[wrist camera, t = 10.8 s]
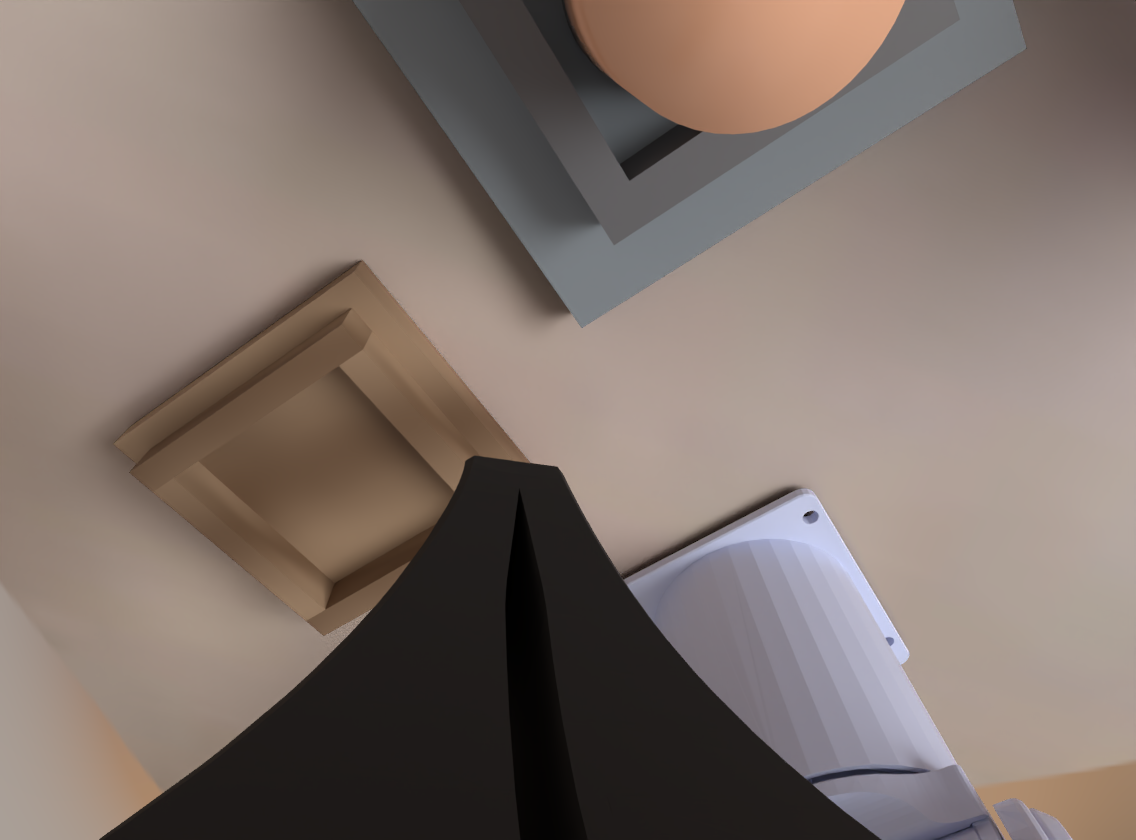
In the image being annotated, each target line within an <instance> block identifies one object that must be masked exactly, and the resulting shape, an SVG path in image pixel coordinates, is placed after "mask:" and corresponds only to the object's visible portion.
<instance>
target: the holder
mask: <svg viewBox="0 0 1136 840" xmlns="http://www.w3.org/2000/svg"><path fill="white" fill-rule="evenodd" d="M114 445H115V446H116V447H117V448H118V449H120V450H121V451H122V452H123V453H124V454H125V455H127V456H128V457H129V458H130V459H131V460H132V461H134V462H135V463H136V465H135V467H134V468H133V469H132V470H131V471H130V472H129V473H131V474H132V475H133V476H134V477H135V478H137V479H138V480H139V481H140V482H141V483H142V484H144V485H145V486H146V487H147V488H148V489H150V490H151V491H152V492H153V493H154V494H156V495H157V496H158V497H159V498H160V499H162V500H163V501H164V502H165V503H166V504H167V505H169V506H170V507H171V508H172V509H173V510H175V511H176V512H177V513H178V514H179V515H181V516H182V517H183V518H184V519H185V520H187V521H188V522H189V523H190V524H191V525H192V526H194V527H195V528H196V529H197V530H198V531H200V532H201V533H202V534H203V535H204V536H206V537H207V538H208V539H209V540H210V541H211V542H213V543H214V544H215V545H216V546H217V547H219V548H220V549H221V550H222V551H223V552H225V553H226V554H227V555H228V556H229V557H231V558H232V559H233V560H234V561H235V562H236V563H238V564H239V565H240V566H241V567H242V568H244V569H245V570H246V571H247V572H248V573H250V574H251V575H252V576H253V577H254V578H256V579H257V580H258V581H259V582H260V583H261V584H263V585H264V586H265V587H266V588H267V589H269V590H270V591H271V592H272V593H273V594H275V595H276V596H277V597H278V598H279V599H281V600H282V601H283V602H284V603H285V604H286V605H288V606H289V607H290V608H291V609H292V610H294V611H295V612H296V613H297V614H298V615H300V616H301V617H302V618H303V619H304V620H305V621H307V622H308V623H309V624H310V625H311V626H313V627H314V628H315V629H316V630H317V631H319V632H320V633H321V634H322V635H323V636H324V635H326V634H328V633H330V632H332V631H333V630H335V629H337V628H339V627H340V626H342V625H344V624H346V623H347V622H349V621H351V620H353V619H355V618H356V617H358V616H360V615H362V614H363V613H365V612H367V611H369V610H371V609H372V608H374V607H375V606H376V604H377V603H378V602H379V601H380V600H381V599H382V597H383V596H384V595H385V594H386V593H387V591H388V590H389V589H390V588H391V586H392V585H393V584H394V583H395V581H396V580H397V579H398V577H399V576H400V575H401V573H402V572H403V571H404V569H405V568H406V567H407V565H408V564H409V563H410V561H411V560H412V559H413V557H414V556H415V555H416V553H417V552H418V551H419V549H420V548H421V547H422V545H423V544H424V542H425V541H426V539H427V538H428V536H429V534H430V533H431V531H432V530H433V528H434V526H435V525H436V523H437V522H438V520H439V518H440V517H441V515H442V514H443V512H444V510H445V509H446V507H447V505H448V503H449V501H450V499H451V497H452V496H453V494H454V492H455V490H456V487H457V485H458V483H459V481H460V478H461V475H462V473H463V470H464V465H465V461H466V460H467V459H469V458H471V457H472V456H474V455H476V456H483V457H490V458H497V459H504V460H512V461H519V462H526V463H530V462H529V461H528V459H527V458H526V457H525V456H524V455H523V453H522V452H521V451H520V450H519V449H518V447H517V446H516V445H515V444H514V443H513V441H512V440H511V439H510V438H509V437H508V435H507V434H506V433H505V432H504V430H503V429H502V428H501V427H500V426H499V424H498V423H497V422H496V421H495V420H494V418H493V417H492V416H491V415H490V414H489V412H488V411H487V410H486V409H485V408H484V406H483V405H482V404H481V403H480V402H479V400H478V399H477V398H476V397H475V395H474V394H473V393H472V392H471V391H470V389H469V388H468V387H467V386H466V385H465V383H464V382H463V381H462V380H461V379H460V377H459V376H458V375H457V374H456V373H455V371H454V370H453V369H452V368H451V366H450V365H449V364H448V363H447V362H446V360H445V359H444V358H443V357H442V356H441V354H440V353H439V352H438V351H437V350H436V348H435V347H434V346H433V345H432V344H431V342H430V341H429V340H428V339H427V337H426V336H425V335H424V334H423V333H422V331H421V330H420V329H419V328H418V327H417V325H416V324H415V323H414V322H413V321H412V319H411V318H410V317H409V316H408V315H407V313H406V312H405V311H404V310H403V309H402V307H401V306H400V305H399V304H398V302H397V301H396V300H395V299H394V298H393V296H392V295H391V294H390V293H389V292H388V290H387V289H386V288H385V287H384V286H383V284H382V283H381V282H380V281H379V280H378V278H377V277H376V276H375V275H374V273H373V272H372V271H371V270H370V269H369V267H368V266H367V265H366V264H365V263H364V261H363V260H362V261H360V262H359V263H357V264H356V265H355V266H353V267H352V268H351V269H349V270H348V271H346V272H345V273H344V274H342V275H341V276H339V277H338V278H337V279H335V280H334V281H332V282H331V283H330V284H328V285H327V286H325V287H324V288H323V289H321V290H320V291H318V292H317V293H316V294H314V295H313V296H312V297H310V298H309V299H307V300H306V301H305V302H303V303H302V304H300V305H299V306H298V307H296V308H295V309H293V310H292V311H291V312H289V313H288V314H286V315H285V316H284V317H282V318H281V319H279V320H278V321H277V322H275V323H274V324H273V325H271V326H270V327H268V328H267V329H266V330H264V331H263V332H261V333H260V334H259V335H257V336H256V337H254V338H253V339H252V340H250V341H249V342H247V343H246V344H245V345H243V346H242V347H240V348H239V349H238V350H236V351H235V352H234V353H232V354H231V355H229V356H228V357H227V358H225V359H224V360H222V361H221V362H220V363H218V364H217V365H215V366H214V367H213V368H211V369H210V370H208V371H207V372H206V373H204V374H203V375H201V376H200V377H199V378H197V379H196V380H195V381H193V382H192V383H190V384H189V385H188V386H186V387H185V388H183V389H182V390H181V391H179V392H178V393H176V394H175V395H174V396H172V397H171V398H169V399H168V400H167V401H165V402H164V403H162V404H161V405H160V406H158V407H157V408H155V409H154V410H153V411H151V412H150V413H149V414H147V415H146V416H144V417H143V418H142V419H140V420H139V421H137V422H136V423H135V424H133V425H132V426H130V427H129V428H128V429H127V430H126V431H125V432H124V434H123V435H122V436H121V437H120V438H119V439H118V440H117V441H116V442H115V443H114Z"/></svg>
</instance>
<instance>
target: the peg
mask: <svg viewBox="0 0 1136 840" xmlns="http://www.w3.org/2000/svg"><path fill="white" fill-rule="evenodd" d="M904 2H905V0H562V5H563V10H564V14H565V17H566V20H567V23H568V26H569V28H570V30H571V33H572V35H573V37H574V39H575V41H576V42H577V44H578V46H579V47H580V49H581V50H582V52H583V53H584V54H585V55H586V57H587V58H588V59H589V60H590V62H591V63H593V64H594V65H595V66H596V67H597V68H598V69H599V70H600V71H601V72H603V73H604V74H605V75H607V76H608V77H609V78H611V79H612V80H613V81H615V82H616V83H617V84H619V85H620V86H621V87H623V88H624V89H625V90H627V91H628V92H629V93H631V94H632V95H633V96H635V97H636V98H637V99H638V100H640V101H641V102H643V103H644V104H645V105H647V106H648V107H649V108H651V109H652V110H654V111H655V112H656V113H658V114H659V115H661V116H663V117H665V118H667V119H669V120H671V121H673V122H675V123H677V124H680V125H683V126H686V127H688V128H691V129H694V130H699V131H704V132H709V133H714V134H744V133H754V132H759V131H763V130H767V129H771V128H775V127H778V126H781V125H783V124H786V123H789V122H791V121H794V120H796V119H798V118H800V117H802V116H804V115H805V114H807V113H809V112H811V111H813V110H815V109H816V108H818V107H819V106H821V105H822V104H823V103H825V102H826V101H828V100H829V99H831V98H832V97H833V96H835V95H836V94H837V93H838V92H839V91H840V90H841V89H843V88H844V87H845V86H846V85H847V84H848V83H850V82H851V81H852V79H853V78H854V77H855V76H856V75H857V74H858V73H859V72H860V71H861V70H862V69H863V68H864V67H865V65H866V64H867V63H868V62H869V60H870V59H871V58H872V56H873V55H874V54H875V52H876V51H877V50H878V48H879V47H880V46H881V44H882V43H883V41H884V40H885V38H886V36H887V35H888V33H889V31H890V30H891V28H892V26H893V25H894V23H895V21H896V19H897V17H898V15H899V12H900V10H901V8H902V6H903V4H904Z"/></svg>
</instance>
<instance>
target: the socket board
mask: <svg viewBox="0 0 1136 840" xmlns="http://www.w3.org/2000/svg"><path fill="white" fill-rule="evenodd" d="M352 1H353V2H354V3H355V5H356V6H357V8H358V9H359V11H360V12H361V13H362V15H363V16H364V18H365V19H366V21H367V22H368V23H369V25H370V26H371V28H372V29H373V31H374V32H375V33H376V35H377V36H378V38H379V39H380V41H381V42H382V43H383V45H384V46H385V48H386V49H387V51H388V52H389V53H390V55H391V56H392V58H393V59H394V61H395V62H396V63H397V65H398V66H399V68H400V69H401V71H402V72H403V73H404V75H405V76H406V78H407V79H408V81H409V82H410V83H411V85H412V86H413V88H414V89H415V91H416V92H417V93H418V95H419V96H420V98H421V99H422V101H423V102H424V103H425V105H426V106H427V108H428V109H429V111H430V112H431V113H432V115H433V116H434V118H435V119H436V121H437V122H438V123H439V125H440V126H441V128H442V129H443V131H444V132H445V133H446V135H447V136H448V138H449V139H450V141H451V142H452V143H453V145H454V146H455V148H456V149H457V151H458V152H459V153H460V155H461V156H462V158H463V159H464V161H465V162H466V163H467V165H468V166H469V168H470V169H471V171H472V172H473V173H474V175H475V176H476V178H477V179H478V181H479V182H480V183H481V185H482V186H483V188H484V189H485V191H486V192H487V193H488V195H489V196H490V198H491V199H492V201H493V202H494V203H495V205H496V206H497V208H498V209H499V211H500V212H501V213H502V215H503V216H504V218H505V219H506V221H507V222H508V223H509V225H510V226H511V228H512V229H513V231H514V232H515V233H516V235H517V236H518V238H519V239H520V241H521V242H522V243H523V245H524V246H525V248H526V249H527V251H528V252H529V253H530V255H531V256H532V258H533V259H534V261H535V262H536V263H537V265H538V266H539V268H540V269H541V271H542V272H543V273H544V275H545V276H546V278H547V279H548V281H549V282H550V283H551V285H552V286H553V288H554V289H555V291H556V292H557V293H558V295H559V296H560V298H561V299H562V301H563V302H564V303H565V305H566V306H567V308H568V309H569V311H570V312H571V313H572V315H573V316H574V318H575V319H576V321H577V322H578V323H579V325H580V326H581V328H583V327H584V326H586V325H587V324H589V323H591V322H592V321H594V320H595V319H597V318H599V317H600V316H602V315H603V314H605V313H606V312H608V311H610V310H611V309H613V308H614V307H616V306H618V305H619V304H621V303H622V302H624V301H626V300H627V299H629V298H630V297H632V296H634V295H635V294H637V293H638V292H640V291H641V290H643V289H645V288H646V287H648V286H649V285H651V284H653V283H654V282H656V281H657V280H659V279H661V278H662V277H664V276H665V275H667V274H669V273H670V272H672V271H673V270H675V269H677V268H678V267H680V266H681V265H683V264H684V263H686V262H688V261H689V260H691V259H692V258H694V257H696V256H697V255H699V254H700V253H702V252H704V251H705V250H707V249H708V248H710V247H712V246H713V245H715V244H716V243H718V242H719V241H721V240H723V239H724V238H726V237H727V236H729V235H731V234H732V233H734V232H735V231H737V230H739V229H740V228H742V227H743V226H745V225H747V224H748V223H750V222H751V221H753V220H755V219H756V218H758V217H759V216H761V215H762V214H764V213H766V212H767V211H769V210H770V209H772V208H774V207H775V206H777V205H778V204H780V203H782V202H783V201H785V200H786V199H788V198H790V197H791V196H793V195H794V194H796V193H797V192H799V191H801V190H802V189H804V188H805V187H807V186H809V185H810V184H812V183H813V182H815V181H817V180H818V179H820V178H821V177H823V176H825V175H826V174H828V173H829V172H831V171H833V170H834V169H836V168H837V167H839V166H840V165H842V164H844V163H845V162H847V161H848V160H850V159H852V158H853V157H855V156H856V155H858V154H860V153H861V152H863V151H864V150H866V149H868V148H869V147H871V146H872V145H874V144H875V143H877V142H879V141H880V140H882V139H883V138H885V137H887V136H888V135H890V134H891V133H893V132H895V131H896V130H898V129H899V128H901V127H903V126H904V125H906V124H907V123H909V122H911V121H912V120H914V119H915V118H917V117H918V116H920V115H922V114H923V113H925V112H926V111H928V110H930V109H931V108H933V107H934V106H936V105H938V104H939V103H941V102H942V101H944V100H946V99H947V98H949V97H950V96H952V95H953V94H955V93H957V92H958V91H960V90H961V89H963V88H965V87H966V86H968V85H969V84H971V83H973V82H974V81H976V80H977V79H979V78H981V77H982V76H984V75H985V74H987V73H988V72H990V71H992V70H993V69H995V68H996V67H998V66H1000V65H1001V64H1003V63H1004V62H1006V61H1008V60H1009V59H1011V58H1012V57H1014V56H1016V55H1017V54H1019V53H1020V52H1022V51H1024V50H1025V49H1027V48H1026V45H1025V41H1024V38H1023V34H1022V31H1021V27H1020V24H1019V20H1018V17H1017V13H1016V10H1015V6H1014V3H1013V0H905V2H904V4H903V6H902V8H901V10H900V12H899V15H898V17H897V19H896V21H895V23H894V25H893V26H892V28H891V30H890V31H889V33H888V35H887V36H886V38H885V40H884V41H883V43H882V44H881V46H880V47H879V48H878V50H877V51H876V52H875V54H874V55H873V56H872V58H871V59H870V60H869V62H868V63H867V64H866V65H865V67H864V68H863V69H862V70H861V71H860V72H859V73H858V74H857V75H856V76H855V77H854V78H853V79H852V81H851V82H850V83H848V84H847V85H846V86H845V87H844V88H843V89H841V90H840V91H839V92H838V93H837V94H836V95H835V96H833V97H832V98H831V99H829V100H828V101H826V102H825V103H823V104H822V105H821V106H819V107H818V108H816V109H815V110H813V111H811V112H809V113H807V114H805V115H804V116H802V117H800V118H798V119H796V120H794V121H791V122H789V123H786V124H783V125H781V126H778V127H775V128H771V129H767V130H763V131H759V132H754V133H744V134H714V133H709V132H704V131H699V130H694V129H691V128H688V127H686V126H683V125H680V124H677V123H675V122H673V121H671V120H669V119H667V118H665V117H663V116H661V115H659V114H658V113H656V112H655V111H654V110H652V109H651V108H649V107H648V106H647V105H645V104H644V103H643V102H641V101H640V100H638V99H637V98H636V97H635V96H633V95H632V94H631V93H629V92H628V91H627V90H625V89H624V88H623V87H621V86H620V85H619V84H617V83H616V82H615V81H613V80H612V79H611V78H609V77H608V76H607V75H605V74H604V73H603V72H601V71H600V70H599V69H598V68H597V67H596V66H595V65H594V64H593V63H591V62H590V60H589V59H588V58H587V57H586V55H585V54H584V53H583V52H582V50H581V49H580V47H579V46H578V44H577V42H576V41H575V39H574V37H573V35H572V33H571V30H570V28H569V26H568V23H567V20H566V17H565V14H564V10H563V5H562V0H352Z"/></svg>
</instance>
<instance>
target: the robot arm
mask: <svg viewBox="0 0 1136 840" xmlns="http://www.w3.org/2000/svg"><path fill="white" fill-rule="evenodd" d="M809 511H814V512H813V513H812V514H811V515H810V516H806V517H805V516H804V514H805V513H807V512H809ZM908 657H909V651H908V649H907V648H906V646H905V644H904V643H903V641H902V639H901V638H900V636H899V634H898V633H897V631H896V629H895V627H894V626H893V624H892V622H891V621H890V619H889V617H888V616H887V614H886V612H885V611H884V609H883V607H882V606H881V604H880V602H879V601H878V599H877V597H876V595H875V594H874V592H873V590H872V589H871V587H870V585H869V584H868V582H867V580H866V579H865V577H864V575H863V574H862V572H861V570H860V569H859V567H858V565H857V564H856V562H855V560H854V558H853V557H852V555H851V553H850V552H849V550H848V548H847V547H846V545H845V543H844V542H843V540H842V538H841V537H840V535H839V533H838V532H837V530H836V528H835V526H834V525H833V523H832V521H831V520H830V518H829V516H828V515H827V513H826V511H825V510H824V508H823V506H822V505H821V503H820V501H819V500H818V498H817V496H816V495H815V493H814V492H813V491H812V490H809V489H807V488H805V489H798V490H795V491H793V492H791V493H789V494H787V495H785V496H783V497H781V498H779V499H778V500H776V501H774V502H772V503H770V504H768V505H766V506H764V507H762V508H760V509H758V510H756V511H754V512H752V513H751V514H749V515H747V516H745V517H743V518H741V519H739V520H737V521H735V522H733V523H731V524H729V525H727V526H726V527H724V528H722V529H720V530H718V531H716V532H714V533H712V534H710V535H708V536H706V537H704V538H702V539H701V540H699V541H697V542H695V543H693V544H691V545H689V546H687V547H685V548H683V549H681V550H679V551H677V552H676V553H674V554H672V555H670V556H668V557H666V558H664V559H662V560H660V561H658V562H656V563H654V564H652V565H651V566H649V567H647V568H645V569H643V570H641V571H639V572H637V573H635V574H633V575H631V576H629V577H627V578H625V579H624V580H623V578H622V577H621V575H620V574H619V572H618V571H617V569H616V568H615V566H614V565H613V563H612V561H611V560H610V558H609V557H608V555H607V553H606V552H605V550H604V549H603V547H602V545H601V544H600V542H599V540H598V539H597V537H596V535H595V534H594V532H593V530H592V528H591V527H590V525H589V523H588V521H587V520H586V518H585V516H584V514H583V512H582V511H581V509H580V507H579V505H578V503H577V501H576V499H575V497H574V495H573V493H572V491H571V489H570V487H569V485H568V483H567V481H566V479H565V477H564V475H563V474H562V472H561V471H560V470H559V468H558V467H555V466H548V465H540V464H533V463H526V462H519V461H512V460H504V459H497V458H490V457H483V456H476V455H474V456H472V457H471V458H469V459H467V460H466V461H465V465H464V470H463V473H462V475H461V478H460V481H459V483H458V485H457V487H456V490H455V492H454V494H453V496H452V497H451V499H450V501H449V503H448V505H447V507H446V509H445V510H444V512H443V514H442V515H441V517H440V518H439V520H438V522H437V523H436V525H435V526H434V528H433V530H432V531H431V533H430V534H429V536H428V538H427V539H426V541H425V542H424V544H423V545H422V547H421V548H420V549H419V551H418V552H417V553H416V555H415V556H414V557H413V559H412V560H411V561H410V563H409V564H408V565H407V567H406V568H405V569H404V571H403V572H402V573H401V575H400V576H399V577H398V579H397V580H396V581H395V583H394V584H393V585H392V586H391V588H390V589H389V590H388V591H387V593H386V594H385V595H384V596H383V597H382V599H381V600H380V601H379V602H378V603H377V604H376V606H375V607H374V608H373V609H372V610H371V611H370V612H369V614H368V615H367V616H366V617H365V618H364V619H363V620H362V621H361V622H360V623H359V625H358V626H357V627H356V628H355V629H354V630H353V631H352V632H351V633H350V634H349V635H348V636H347V637H346V638H345V639H344V640H343V641H342V642H341V643H340V644H339V645H338V646H337V647H336V648H335V649H334V650H333V651H332V652H331V653H330V654H329V655H328V656H327V657H326V658H325V659H324V660H323V661H322V662H321V663H320V664H319V665H318V666H317V667H316V668H315V669H314V670H313V671H312V672H311V673H310V674H309V675H308V676H307V677H306V678H305V679H304V680H303V681H301V682H300V683H299V684H298V685H297V686H296V687H295V688H294V689H293V690H292V691H290V692H289V693H288V694H287V695H286V696H285V697H284V698H282V699H281V700H280V701H279V702H278V703H276V704H275V705H274V706H273V707H272V708H271V709H269V710H268V711H267V712H266V713H265V714H263V715H262V716H261V717H260V718H259V719H257V720H256V721H255V722H254V723H253V724H251V725H250V726H249V727H248V728H247V729H245V730H244V731H243V732H242V733H241V734H239V735H238V736H237V737H236V738H235V739H234V740H232V741H231V742H230V743H229V744H228V745H226V746H225V747H224V748H223V749H221V750H220V751H219V752H218V753H216V754H215V755H214V756H213V757H211V758H210V759H209V760H207V761H206V762H205V763H204V764H202V765H201V766H200V767H198V768H197V769H195V770H194V771H193V772H191V773H190V774H189V775H187V776H186V777H184V778H183V779H182V780H180V781H179V782H178V783H176V784H175V785H173V786H172V787H171V788H169V789H168V790H167V791H165V792H164V793H162V794H161V795H160V796H158V797H157V798H156V799H154V800H153V801H151V802H150V803H149V804H147V805H146V806H145V807H143V808H142V809H140V810H139V811H138V812H136V813H135V814H133V815H132V816H131V817H129V818H128V819H127V820H125V821H124V822H122V823H121V824H120V825H118V826H117V827H116V828H114V829H113V830H111V831H110V832H108V833H107V834H106V835H104V836H103V837H102V838H100V839H99V840H1005V838H1004V836H1003V835H1002V833H1001V832H1000V830H999V828H998V827H997V825H996V823H995V822H994V820H993V819H992V817H991V815H990V814H989V812H988V810H987V809H986V807H985V806H984V804H983V802H982V801H981V799H980V797H979V796H978V794H977V792H976V791H975V789H974V787H973V786H972V784H971V783H970V781H969V779H968V778H967V776H966V774H965V773H964V771H963V770H962V768H961V767H960V766H959V765H957V763H956V761H955V759H954V758H953V756H952V754H951V752H950V751H949V749H948V747H947V745H946V744H945V742H944V740H943V738H942V737H941V735H940V733H939V731H938V730H937V728H936V726H935V724H934V723H933V721H932V719H931V717H930V716H929V714H928V712H927V710H926V709H925V707H924V705H923V703H922V702H921V700H920V698H919V696H918V695H917V693H916V691H915V689H914V688H913V686H912V684H911V682H910V681H909V679H908V677H907V675H906V674H905V672H904V670H903V668H902V667H901V664H903V663H904V662H905V661H906V660H907V659H908ZM993 807H994V809H995V811H996V812H997V814H998V816H999V817H1000V819H1001V821H1002V823H1003V824H1004V826H1005V828H1006V830H1007V831H1008V833H1009V835H1010V837H1011V838H1012V840H1073V839H1072V838H1071V837H1070V835H1069V834H1068V833H1067V831H1066V830H1065V828H1064V827H1063V826H1062V825H1061V823H1060V822H1059V821H1058V820H1057V819H1056V818H1054V817H1053V816H1050V815H1048V814H1046V813H1043V812H1041V811H1039V810H1036V809H1034V808H1031V809H1028V808H1027V806H1026V805H1025V804H1024V803H1023V802H1022V801H1021V800H1018V799H1016V798H1012V799H1008V800H1005V801H1002V802H1000V803H997V804H994V805H993Z"/></svg>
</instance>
